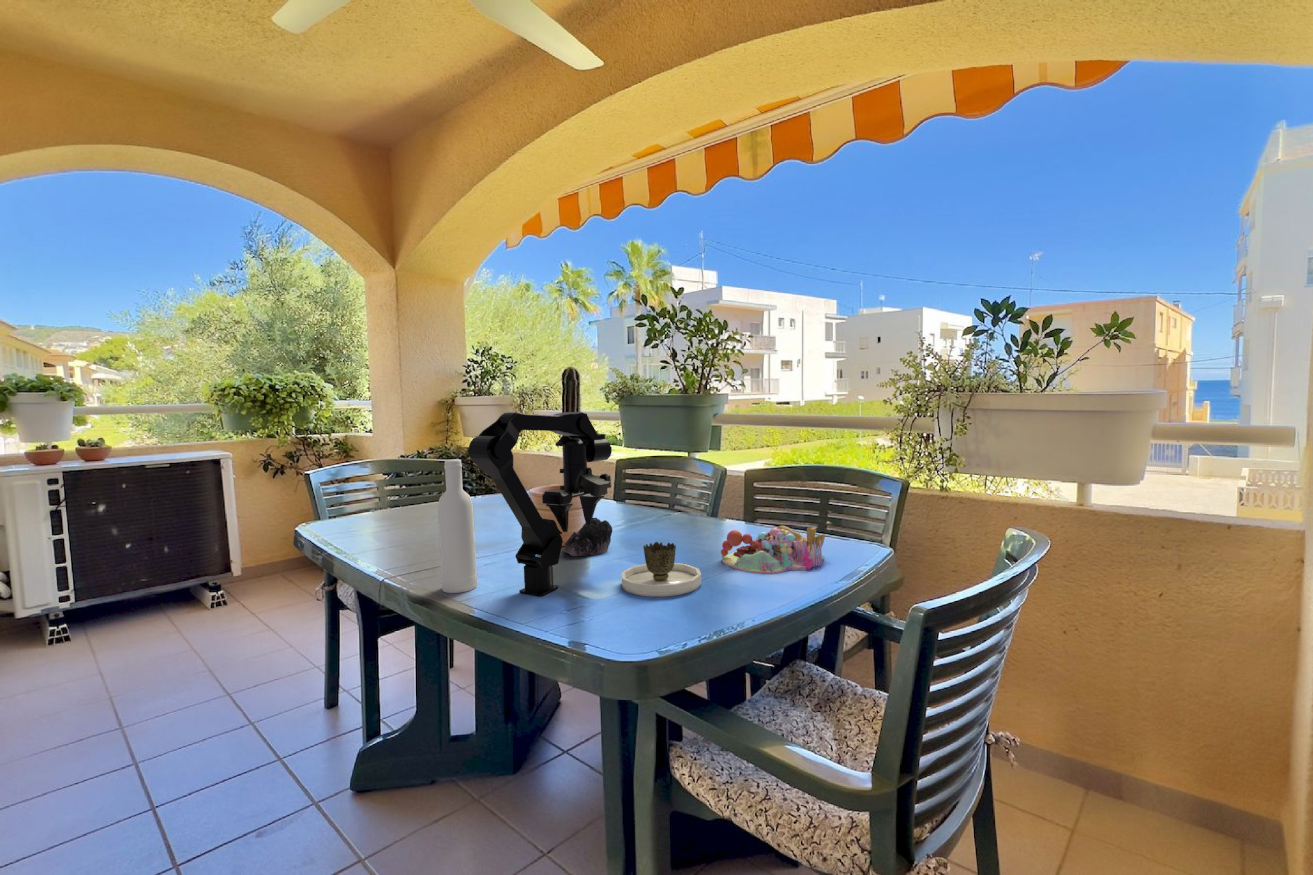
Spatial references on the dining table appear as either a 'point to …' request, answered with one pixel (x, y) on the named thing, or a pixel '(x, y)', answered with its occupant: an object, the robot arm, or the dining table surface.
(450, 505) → the bottle
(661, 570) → the cup
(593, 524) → the crystal cluster
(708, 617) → the dining table surface
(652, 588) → the dish
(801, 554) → the pastel sphere sculpture
